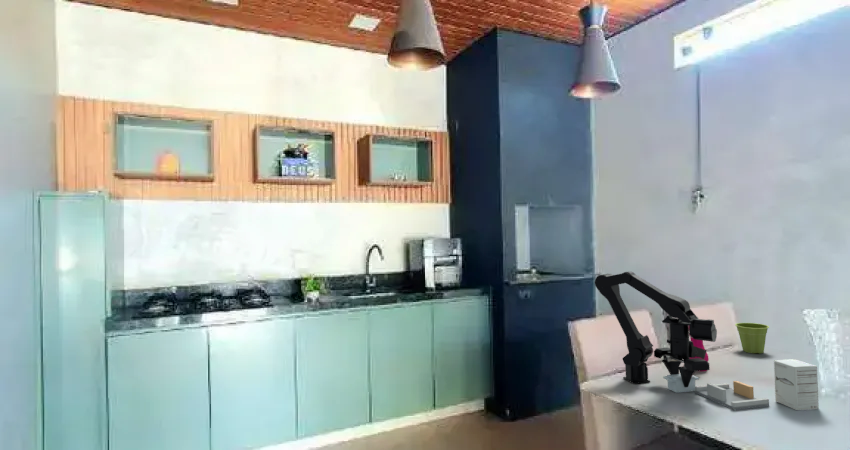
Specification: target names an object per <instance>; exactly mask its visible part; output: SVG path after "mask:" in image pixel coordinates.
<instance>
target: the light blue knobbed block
mask: <svg viewBox="0 0 850 450" xmlns="http://www.w3.org/2000/svg"><path fill="white" fill-rule="evenodd" d="M662 378H663V379H664V380H667V389H668V390H670V391H672V392H674V393H676V394H678V393H688V392H695V386H696V380H697V381H698V380H699V379H700V376H699V377H698V376H696V375H694V374H693V375H692V377H691V380H690V383H689V386H688V387H684V385H683V382H682V378H681V374H680V373H679V374H674V375H670V374H666V376H665V375H663V377H662Z"/></svg>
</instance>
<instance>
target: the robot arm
mask: <svg viewBox="0 0 850 450" xmlns="http://www.w3.org/2000/svg"><path fill="white" fill-rule="evenodd" d="M623 284H627V285H629V286H630V287H632V288H633V289H635V290H636V291H638V292H639V293H641V294H643V295H644V296H646V297H647V298H649V299H650V300H652V301H654V302H655V303H656V304H658V306H659V307H660V308H661V309H662V310H663V311H664V312H665V313H666V314H667V315H666V317H665V318H663V319H662V320H661V322H662V323H663V324H668V327H669V328H668V329H669V339H666V343H668V344H669V347H658V348H655V349H653V347H654V344H653V343H652V342H651V341H650V338H649V335H648V334H646V335H643V334H642V333H640V331H639V330H638V327H637V325H636V324H635V322H634V319H633V317H632V316H631V314H630V311H629V310H628V308H627V306H626V304H625V302H624V300H623V298H622V296H621V292H620V291H621V290H620V285H623ZM594 286H595V288H596V289H597V290H598V292H599V293H600V294H601V295H602V296H603V297H604V298H605V299H606V300H607V301H608V304H609V306H610V307H611V310H612V311H613V313H614V315H615V318H616V319H617V321H618V323H619V325H620V328H621V329H622V332H623V333H624V336H625V337H626V338H625V339H626V348H627V350H628V351H627V352H628V353H627V354H625V356H623V357H622V360H623V365H625V366H624V369H625V376H623V377H622V379H624V380H626V381H627V382H630V383H631V384H635V385H637V384H646V383H651V380H650V379H649V369H648V367H647V363H646V362H648V359H650V358H651V357H652V355H653V356H654V358H657V359H661V362H662V364H664V366H665V368H666V369H667V371H668V373H669V375H674V374H681V378H682V382H683V385H684V387H688V386H689V383H690V380H691V377H692V375H694V373H695V372H701V371H703V372H705V371H704V370H707V371H710V369H711V368H710V363H709V361H708V362H707V361H706V360H703V359H705V355H706V352H707V349H705V350H704V349H701V348H698V347H695V346H694V345H693V342H692V341H691V340H690V337H689V334H690V336H691V337H693V339H695V340H703V342H710V343H711V342H712V343H715V342H716V341H717V334H718V330H717V326H716V325H715V320H714V319H708V318H707V319H704V318H702V319H701V318H699V317H698V316H697V314H695V313H694V311H693V310H692V309H691V306H690V303H689V301H688V300H686V299H684V298H682V297H680V296H677V295H674V294H671V293H668V292H665V291H663V290H661V289H660V288H659V287H657V286H655V285H653V284H652V283H650V282H648V281H647V280H645V279H644V278H642V277H640V276H639V275H637V274H636V273H634V272H633V271H624V272H622V273H617V274H612V273H605V274H599V275H598V276H596V277H595V279H594ZM697 317H698V318H697ZM690 357H691V358H693V359H690ZM695 357H700V358H702V359H700V358H695ZM662 358H663V359H662ZM682 363H683V365H682V366H681V364H682Z"/></svg>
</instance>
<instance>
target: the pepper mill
mask: <svg viewBox="0 0 850 450" xmlns="http://www.w3.org/2000/svg"><path fill="white" fill-rule="evenodd" d="M697 318H698V319H699V317H698V316H697ZM689 340H690V341H692V342H693V345H694V346H695V347H698V348H701V349H704V350H706V348H705V346H704V341H703V340H695V339H693V337H691V336H690V334H689ZM695 358H700V357H695ZM690 359H693V358H691V357H690ZM700 359H702V358H700ZM709 359H710V358H709V354H708V352H707V351H706V355H705V359H703V360H706V361H707V362H708V363H709ZM707 371H708V370H704V371H700V372H707Z"/></svg>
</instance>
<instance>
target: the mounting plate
mask: <svg viewBox="0 0 850 450" xmlns="http://www.w3.org/2000/svg"><path fill="white" fill-rule="evenodd" d="M732 384H733V388H730V384H729V383H717V384H714V383H711V382H710V383H706V385H697V386H696V385H695V391H694V393H695V394H697V395H698V396H701V397H704V398H706V399H709V400H711V401H713V402H715V403H717V404H719V403H720V405H722V406H724V407H727V408H728V409H731V410H733V411H737V410H744V409H756V408H763V407H764V408H767V407H770V399H769V398H767V397H764V398H756V397H754V386H752V385H750V384H747V383H744V382H741V381H738V380H733V383H732Z"/></svg>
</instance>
